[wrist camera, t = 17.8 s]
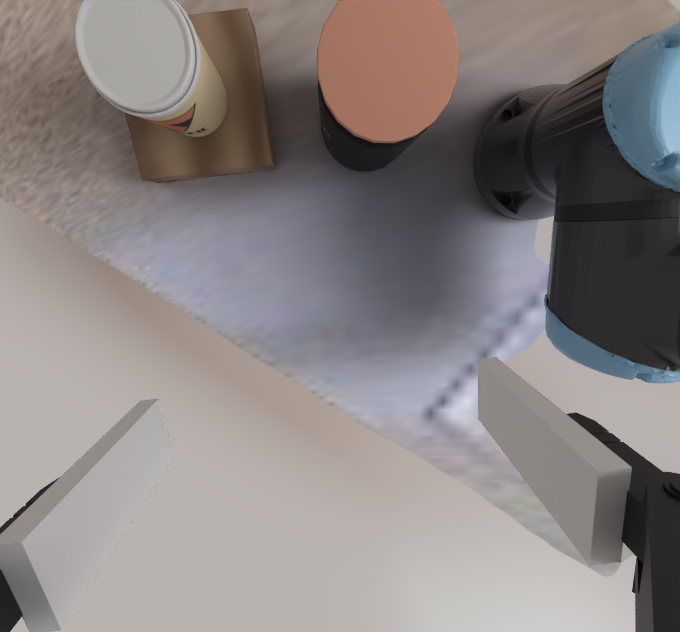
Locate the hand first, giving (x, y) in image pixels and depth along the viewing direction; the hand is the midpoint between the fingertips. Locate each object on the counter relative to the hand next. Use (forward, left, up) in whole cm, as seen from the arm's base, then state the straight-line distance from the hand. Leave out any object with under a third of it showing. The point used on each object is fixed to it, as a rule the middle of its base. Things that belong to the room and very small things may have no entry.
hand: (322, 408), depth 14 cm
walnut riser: (+12, -22, -35) cm, 43 cm away
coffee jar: (-7, -18, -35) cm, 40 cm away
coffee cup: (+12, -22, -31) cm, 40 cm away
